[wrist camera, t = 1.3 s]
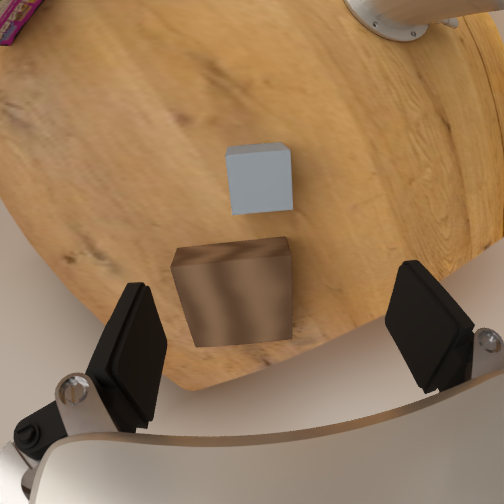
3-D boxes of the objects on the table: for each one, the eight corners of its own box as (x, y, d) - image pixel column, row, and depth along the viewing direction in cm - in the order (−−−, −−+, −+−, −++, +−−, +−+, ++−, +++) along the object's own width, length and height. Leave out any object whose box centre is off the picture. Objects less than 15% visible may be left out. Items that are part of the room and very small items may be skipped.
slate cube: (280, 142, 30) (290, 150, 24) (283, 191, 33) (292, 209, 27) (227, 146, 30) (225, 155, 25) (233, 196, 33) (232, 215, 27)
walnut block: (284, 235, 36) (291, 254, 32) (287, 315, 43) (292, 339, 38) (177, 246, 36) (170, 267, 32) (198, 324, 43) (195, 347, 39)
